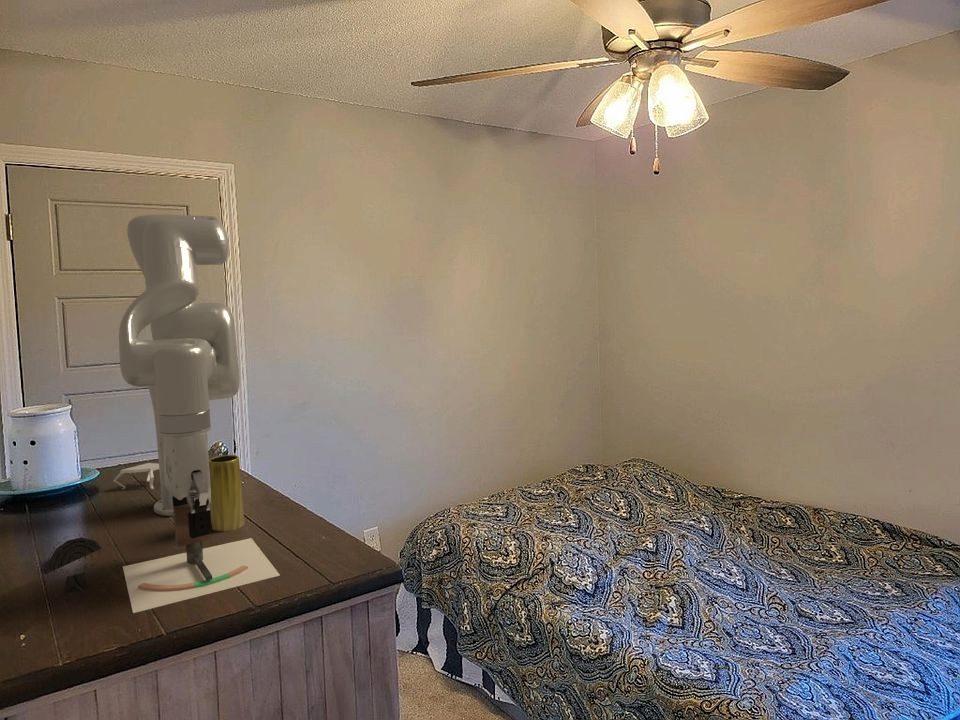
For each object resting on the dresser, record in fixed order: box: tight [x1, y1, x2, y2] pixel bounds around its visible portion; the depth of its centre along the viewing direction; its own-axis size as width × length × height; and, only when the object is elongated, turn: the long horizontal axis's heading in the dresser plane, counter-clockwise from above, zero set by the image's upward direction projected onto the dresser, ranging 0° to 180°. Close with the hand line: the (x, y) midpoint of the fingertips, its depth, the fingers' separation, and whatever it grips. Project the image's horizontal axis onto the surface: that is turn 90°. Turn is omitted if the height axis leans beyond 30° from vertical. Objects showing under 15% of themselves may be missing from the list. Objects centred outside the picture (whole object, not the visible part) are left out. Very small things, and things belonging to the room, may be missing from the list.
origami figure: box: [112, 462, 159, 491], centre depth 151 cm, size 12×8×5 cm
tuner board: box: [122, 537, 281, 614], centre depth 102 cm, size 18×20×2 cm
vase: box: [209, 454, 245, 532], centre depth 120 cm, size 6×6×14 cm
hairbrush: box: [47, 533, 103, 595], centre depth 103 cm, size 8×4×25 cm
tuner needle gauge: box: [173, 503, 212, 581], centre depth 101 cm, size 11×5×9 cm, turn 35°
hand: (192, 526), depth 105 cm, fingers open, 9 cm apart
